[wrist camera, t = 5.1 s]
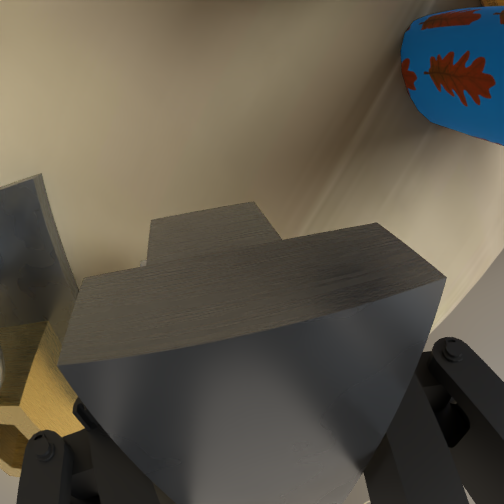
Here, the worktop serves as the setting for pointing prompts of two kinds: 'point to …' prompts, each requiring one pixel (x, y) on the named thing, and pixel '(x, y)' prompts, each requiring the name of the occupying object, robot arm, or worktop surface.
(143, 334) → the grey slab block
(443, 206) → the worktop surface
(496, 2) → the pancake mix bag
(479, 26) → the thermos
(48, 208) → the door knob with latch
